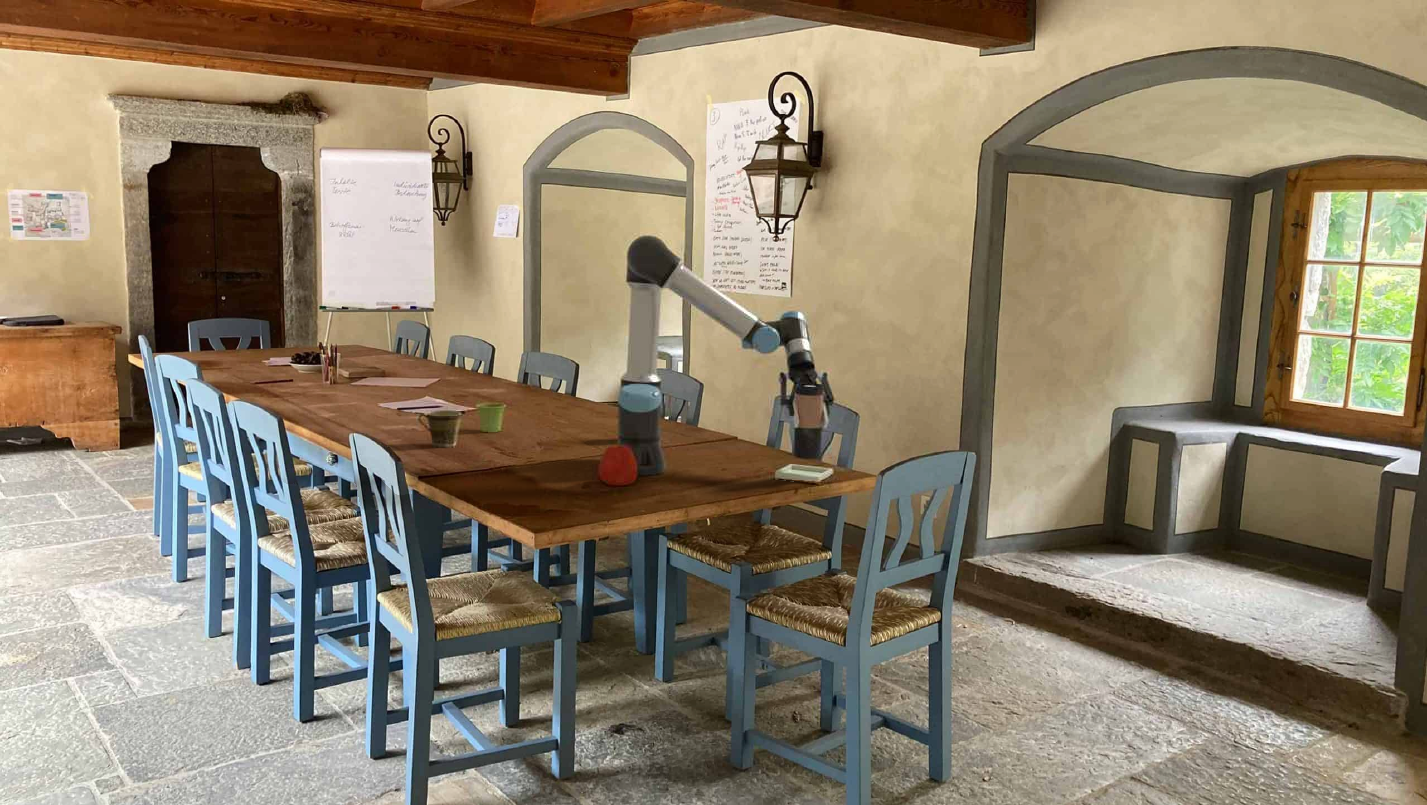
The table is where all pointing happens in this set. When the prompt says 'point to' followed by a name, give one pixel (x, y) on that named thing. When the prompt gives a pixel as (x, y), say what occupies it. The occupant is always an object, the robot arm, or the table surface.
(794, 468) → the holder tray
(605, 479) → the apple
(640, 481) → the table surface
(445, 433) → the ceramic cup
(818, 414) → the travel mug
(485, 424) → the plant pot
